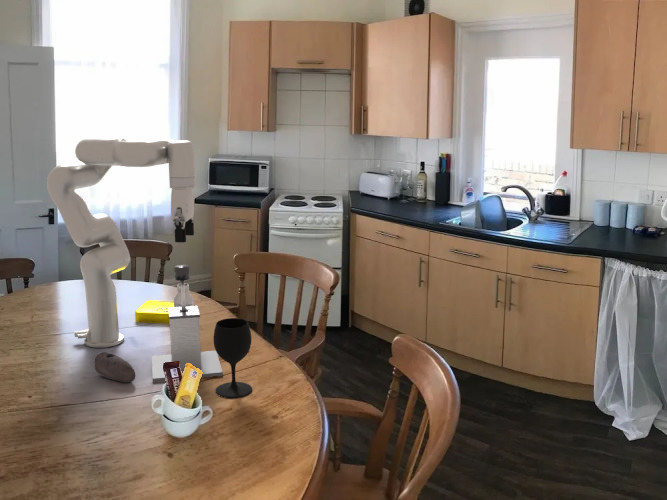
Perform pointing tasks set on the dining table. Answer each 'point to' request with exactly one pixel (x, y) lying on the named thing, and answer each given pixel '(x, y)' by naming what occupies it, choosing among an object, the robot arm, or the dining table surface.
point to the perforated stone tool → (114, 367)
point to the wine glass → (232, 352)
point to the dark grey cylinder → (182, 281)
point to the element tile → (154, 312)
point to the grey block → (185, 335)
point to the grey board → (208, 367)
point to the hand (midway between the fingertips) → (184, 238)
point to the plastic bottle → (188, 297)
